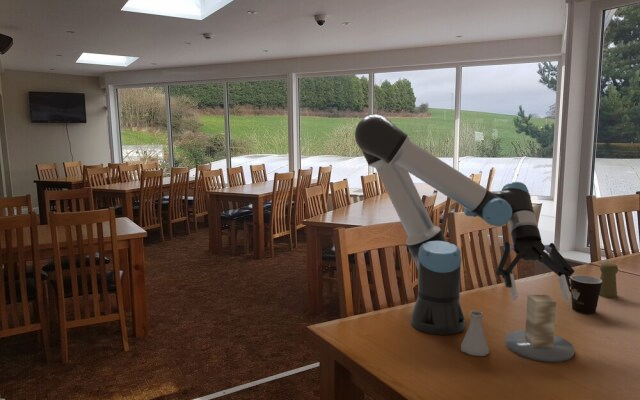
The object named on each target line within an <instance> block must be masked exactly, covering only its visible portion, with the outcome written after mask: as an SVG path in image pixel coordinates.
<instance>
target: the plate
mask: <svg viewBox="0 0 640 400" xmlns="http://www.w3.org/2000/svg"><path fill="white" fill-rule="evenodd" d="M525 330H526V329H519V330H514V331H513V330H512V331H511V332H508V333H507V334H506V336H505V340H504V341H505V343H504V344H505V345H506V347H507V348H508V349H509V350H510V351H511V352H513V353H515V354H516V355H518V356H521V357H524V358H527V359H529V360H533V361H539V362H546V363H561V362H566V361H567V362H568V361H569V360H571V359H573V357H574V354H575V347H574V345H573V344H572V343H571V342H570V341H568V340H567V339H565V338H563V337H561V336H558V335H555V334H554V343H553V347H533V346H532V345H531V344H530V343H529V342H528V341H527V340H526V339H525Z"/></svg>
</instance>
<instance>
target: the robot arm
mask: <svg viewBox="0 0 640 400" xmlns="http://www.w3.org/2000/svg"><path fill="white" fill-rule="evenodd" d="M354 139H355V142H356V144H357V146H358V148H359V149H360V150H361V153H362V154H363V156H364V158H365V161H366V163H367V164H368V166H370V167H372V168H374V169H375V170H376V172H377V174H378V176H379V178H380V180H381V183H382V185H383V187H384V189H385V191H386V194H387V195H388V198H389V199H390V201H391V204H392V205H393V208H394V210H395V212H396V214H397V217H398V218H399V221H400V223H401V225H402V226H403V228H404V231H405V234H406V235H407V238H406V242H405V243H406V247H407V248H408V250H409V253H410V254H411V257H412V258H413V261H414V263H415V266H416V269H417V272H418V273H417V298H416V300H415V304H414V305H413V306H414V307H413V310H412V312H411V315H410V323H411V325H412V327H414V329H417V330H419V331H420V332H423V333H427V334H432V335H437V336H438V335H439V336H441V335H442V336H443V335H444V336H445V335H446V336H447V335H454V334H455V335H456V334H458V333H461V332H463V331H464V330H465V326H466V324H465V323H466V319H465V315H464V312H463V309H462V305H461V301H460V291H461V267H462V261H463V260H462V253H461V249H460V248H459V247H458V245H456V244H454V243H451V242H448V241H447V239H446V237H445V235H444V233H443V231H442V229H441V227H439V226H436V225H434V224H433V222H432V219H431V217H430V214H429V213H428V211H427V208H426V206H425V205H424V202H423V201H422V199H421V196H420V194H419V192H418V190H417V187H416V185H415V183H414V181H413V179H412V177H411V175H412V176H415V177H416V178H417V179H419V180H420V181H422V182H423V183H424V184H426V185H429V186H430V187H431V188H433V189H434V190H436V191H438V192H440V194H442V195H444V196H446V197H448V198H449V199H451V200H452V201H454V202H456V204H458V205H460V206H462V207H463V213H464V215H465V216H466V217H474V218H476V217H478V218H479V219H482V220H483V221H484V222H485V223H487V224H489V225H490V226H494V227H502V226H504V225H506V224H507V223H508V226H509V231H510V235H511V239H512V240H511V241H512V244H510V243H509V242H508V241H507V242H505V243H504V244H503V246H502V255H501V258H500V260H499V264H498V266H497V268H496V271H495V274H496V275H497V276H501V277H502V279H503V280H504V285H505V287H506V288H509V293H510V297H511V301H516V299H517V298H518V297H519V295H518V290H517V286H516V281H515V276H514V273H511V272H512V271H513V270H514V269H515V267H516V266H517V264H518V263H519V261H520V260H521V259H523V260H524V261H536V260H538V262H540V263H542V264H544V266H546V267H547V268H548V269H550V270H551V271H552V272H554V274H556V275H557V276H558V279H557V281H558V284H559V287H560V292H561V294H562V298H563V302H568V301H569V300H570V299H572V297H571V292H570V291H569V288H570V289H571V281H570V279H569V277H571V276H573V275H574V273H575V270H574V268H573V267H572V266H571V265H570V263H568V261H567V260H566V259H565V257H563V256H562V254H561V253H560V252H559V251H558V249H557V247H556V244H555V243H553V242H550V244H543V242H542V236H541V233H540V229H539V226H538V221H537V217H536V215H535V212H534V207H533V201H532V200H531V199H532V197H531V194H530V191H529V189H528V187H527V186H526V184H525V183H523V182H521V181H512V182H511V183H509V182H508V183H507V184H505V185H503V186H502V188H501V190H496V191H493V190H492V191H490V190H488V189H487V188H486V187H484V186H482V185H481V184H479V183H477V182H476V181H475V180H473V179H472V178H470V177H468V176H467V175H465V174H464V173H462V172H461V171H459V170H457V169H455V168H454V167H453V166H451V165H450V164H448V163H446V162H445V161H444V160H441V159H440V158H438V157H436V156H435V155H433V154H432V153H430V152H429V151H427V150H426V149H425V148H422V147H421V146H419V145H418V144H416V143H415V142H413V141H412V140H411V139H410V135H409V134H407V133H405V132H404V131H403V130H402V129H400V128H399V127H398V126H397V125H396V124H394V123H393V122H392V121H391V120H390V119H389V118H388V117H386V116H384V115H382V114H377V113H376V114H368V115H367V116H364V117H363V118H362V119H361V120H360V121H359V122H358V123H357V125H356V127H355V131H354ZM410 174H411V175H410ZM512 250H513V252H515V253H516V256H515V257H514V259H513V260H512V261H511V262H510V264H509V265H508V267H507V268H506V269H505V268H504V267H505V265H506V262H507V259H508V257H509V254H510V253H511V252H512Z"/></svg>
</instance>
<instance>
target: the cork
mask: <svg viewBox="0 0 640 400" xmlns="http://www.w3.org/2000/svg"><path fill="white" fill-rule="evenodd" d="M599 269H600V270H599V271H600V272H601V273H600V277H599V279H601V280H602V285H601V289H600V294H599V297H603V298H609V299H610V298H611V299H614V298H617V297H618V289H617V274H618V273H619V272H618V271H619V268H618V265H616V264H615V263H611V262H602V263H601V264H600V266H599Z"/></svg>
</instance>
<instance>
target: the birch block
mask: <svg viewBox="0 0 640 400" xmlns="http://www.w3.org/2000/svg"><path fill="white" fill-rule="evenodd" d="M526 299H527V300H526V314H525V315H526V316H525V329H524V330H525V339H526V340H527V341H528V342H529V343H530V344H531V345H532V346H533V347H553V343H554V335H555V326H556V325H555V324H556V312H557V311H556V310H557V301H556V300H555V299H554V298H552V297H550V296H549V295H548V294H527V298H526Z"/></svg>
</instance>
